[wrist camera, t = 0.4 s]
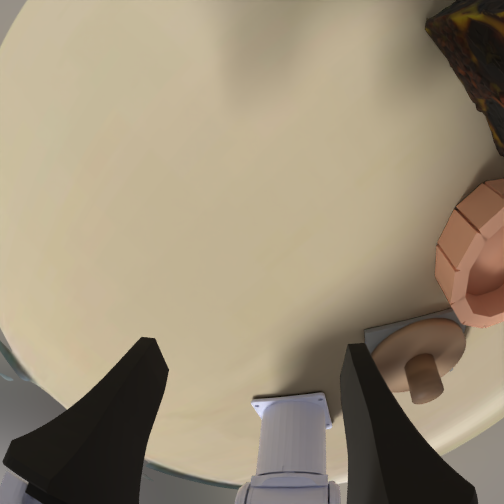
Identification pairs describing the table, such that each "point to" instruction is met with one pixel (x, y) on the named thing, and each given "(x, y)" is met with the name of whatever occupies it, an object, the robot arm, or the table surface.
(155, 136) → the table surface
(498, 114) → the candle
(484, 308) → the bowl
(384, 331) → the mat
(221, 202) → the table surface
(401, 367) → the lid
